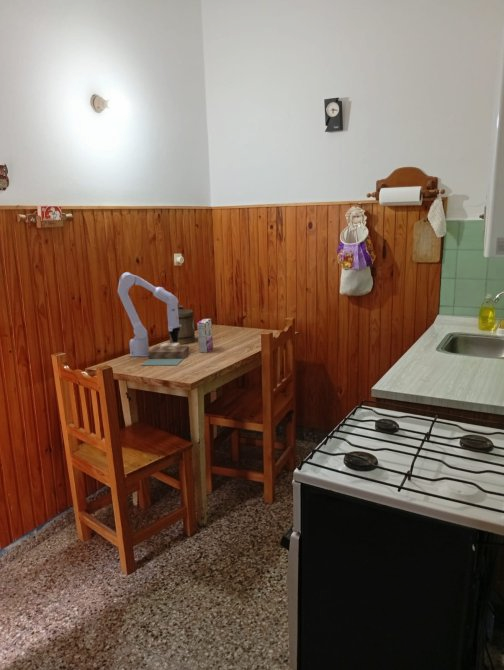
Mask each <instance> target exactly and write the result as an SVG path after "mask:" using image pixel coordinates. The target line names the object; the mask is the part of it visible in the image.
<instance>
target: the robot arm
mask: <svg viewBox="0 0 504 670" xmlns="http://www.w3.org/2000/svg"><path fill="white" fill-rule="evenodd" d="M133 285H134V286H140V287H143V288H145V289H146V290H147V291H150V292H152V294H153V297H155V298H157V299H159V300H160V301H162V302H164V303H165V304H166V312H167V313H166V314H167V322H168V323H167V331H168V332H169V333H170V335H171V338H172V341H173V342H177V340H178V333H179V330H180V328H177V327H180V326H181V325H179V318H178V308H177V306H178V305H179V299H178V297H177V296H175V295H174V294H172V292H171V291H170V292H169V291H167V290H166V289H165V288H164V287H163V286H154V285H153V284H151V283H149V281H147V280H146V279H143V278H142V277H140V276H139V275H135V274H132V273H131V272H129V271H126V272H123V273H122V274H121V276H120V277H119V281H118V287H117V294H118V296H119V299H120V302H121V303H122V305H123V307H124V309H125V311H126V314H127V317H128V318H129V320H130V323H131V326H132V327H133V333H134V337H133V338H131V339H130V340H129V352H130V356H129V357H149V354H148V352H149V351H150V349H149V348H150V346H149V337H148V331H147V329H146V328H145V326H144V325H143V323H142V321H141V320H140V318H139V314H138V313H137V311H136V308H135V306H134V304H133V302H132V300H131V297H130V296H129V291H130V289H131V287H132V286H133Z"/></svg>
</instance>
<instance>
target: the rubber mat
mask: <svg viewBox="0 0 504 670" xmlns="http://www.w3.org/2000/svg"><path fill="white" fill-rule="evenodd" d="M183 360H184V359H149V358H148V359H147V360H146V361H144V362H143V363H142V364H141V366H142V367H149V366H150V367H151V366H153V367H155V366H156V367H157V366H158V367H159V366H160V367H162V366H164V367H165V366H166V367H167V366H168V367H169V366H170V367H171V366H174V367H175V366H178V365H179V364H180V363H181V362H182V361H183Z"/></svg>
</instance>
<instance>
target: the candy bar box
mask: <svg viewBox="0 0 504 670" xmlns="http://www.w3.org/2000/svg"><path fill="white" fill-rule="evenodd" d="M212 325H213V324H212V318H203V319H201V320H199V321H198V322H196V327H197V341H198V351H199V352H198V353H201V354H208V353H209V352H210V351H211V350H213V348H214V340H213V339H214V338H213V328H212Z"/></svg>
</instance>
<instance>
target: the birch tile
mask: <svg viewBox="0 0 504 670" xmlns="http://www.w3.org/2000/svg"><path fill="white" fill-rule="evenodd" d="M159 346H160V350H163V349H178V348H179V347H180V346H181V344H180V343H170V342H163V343H161V344H160V345H159Z"/></svg>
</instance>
